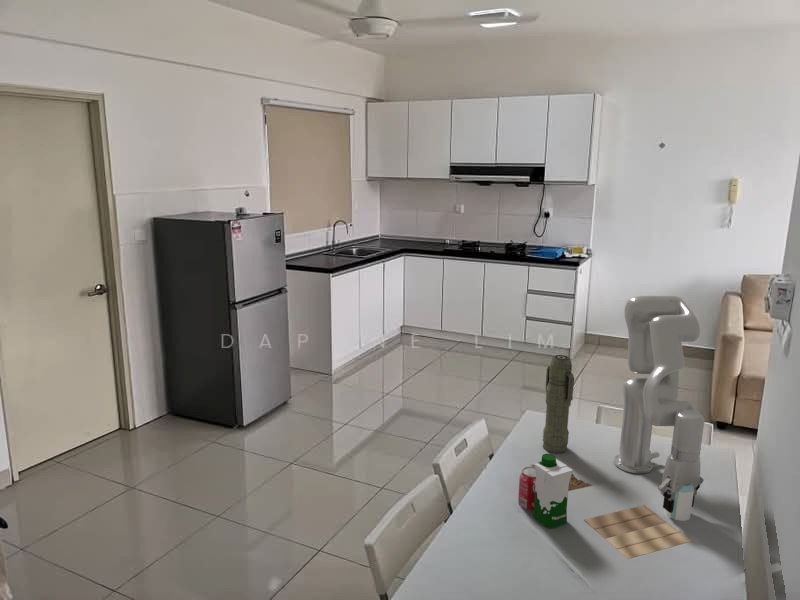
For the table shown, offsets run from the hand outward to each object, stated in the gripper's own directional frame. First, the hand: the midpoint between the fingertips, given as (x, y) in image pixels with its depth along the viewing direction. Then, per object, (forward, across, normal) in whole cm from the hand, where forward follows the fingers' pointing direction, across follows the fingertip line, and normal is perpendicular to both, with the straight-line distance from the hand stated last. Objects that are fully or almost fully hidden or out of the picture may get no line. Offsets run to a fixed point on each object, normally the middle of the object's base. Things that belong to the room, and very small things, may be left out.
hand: (678, 507), depth 179 cm
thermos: (+4, +8, -50) cm, 51 cm away
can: (+3, 0, 0) cm, 3 cm away
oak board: (+3, +17, +7) cm, 19 cm away
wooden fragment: (+4, +19, -30) cm, 36 cm away
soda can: (+4, +38, -20) cm, 43 cm away
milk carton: (+4, +37, -11) cm, 39 cm away
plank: (+3, +17, -2) cm, 18 cm away
